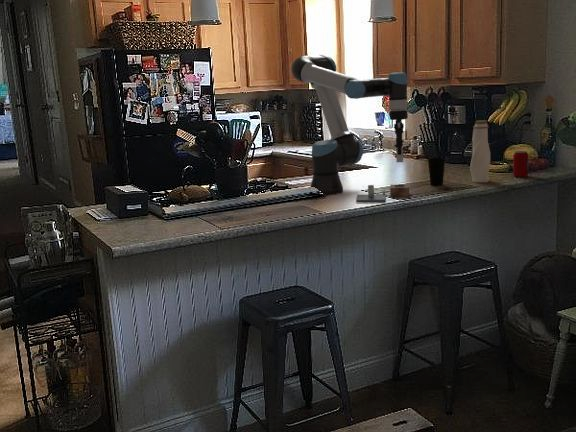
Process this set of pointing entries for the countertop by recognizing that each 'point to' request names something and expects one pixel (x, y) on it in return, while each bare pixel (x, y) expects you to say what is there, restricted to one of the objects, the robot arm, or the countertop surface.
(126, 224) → the countertop surface
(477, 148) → the water bottle
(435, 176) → the cup
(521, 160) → the beverage can
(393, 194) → the collar
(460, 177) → the countertop surface
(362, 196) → the post base
